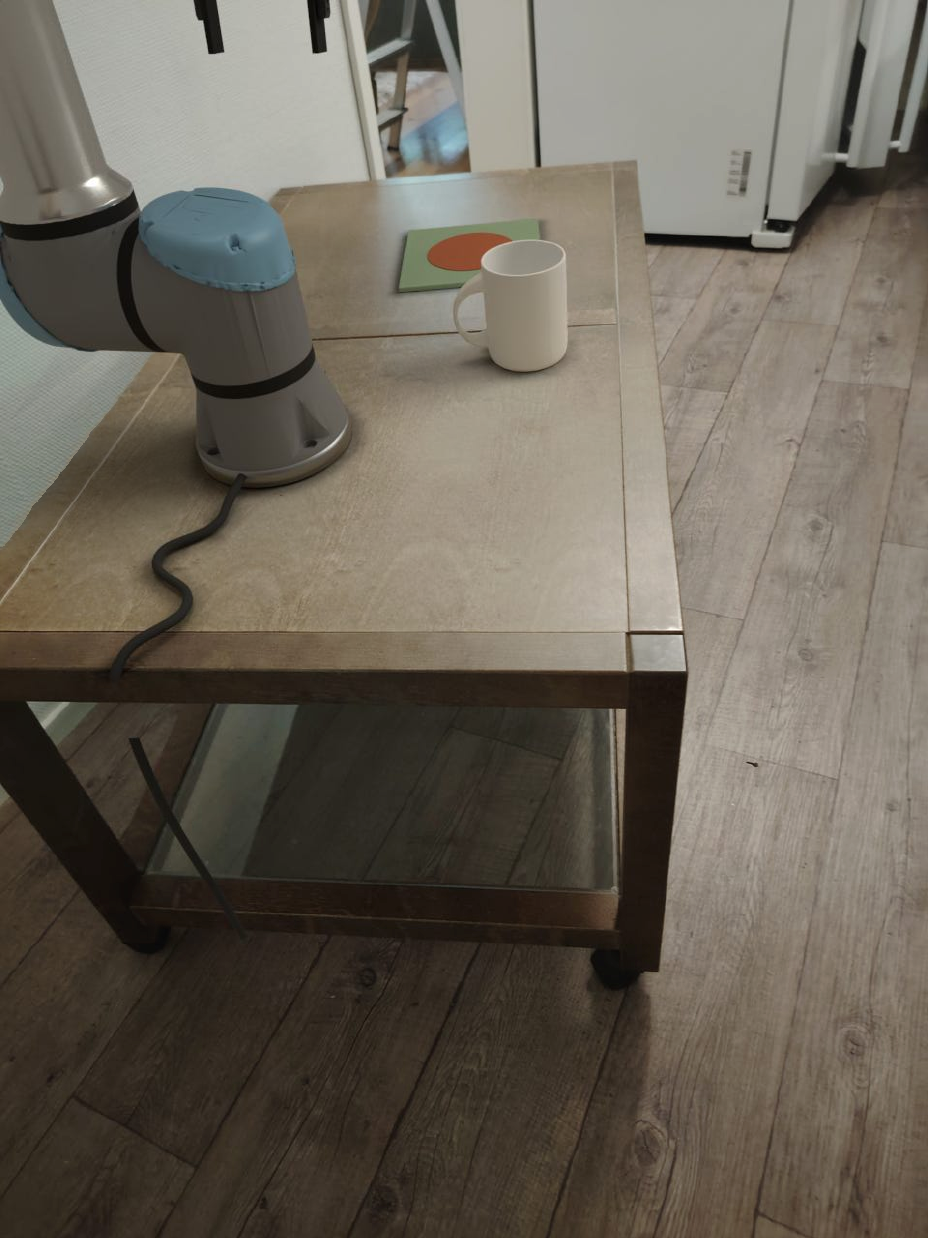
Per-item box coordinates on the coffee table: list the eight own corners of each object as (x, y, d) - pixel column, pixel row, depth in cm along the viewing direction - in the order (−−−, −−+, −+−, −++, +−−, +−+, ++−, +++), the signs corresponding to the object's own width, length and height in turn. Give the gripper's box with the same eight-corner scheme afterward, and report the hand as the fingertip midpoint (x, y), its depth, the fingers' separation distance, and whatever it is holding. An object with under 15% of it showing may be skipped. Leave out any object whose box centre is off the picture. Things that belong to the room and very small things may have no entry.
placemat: (543, 280, 110) (543, 274, 110) (399, 292, 112) (398, 287, 111) (538, 222, 123) (538, 217, 122) (408, 234, 124) (408, 229, 124)
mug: (456, 342, 101) (445, 248, 94) (562, 330, 101) (560, 234, 93) (460, 381, 95) (449, 284, 87) (573, 368, 95) (571, 269, 87)
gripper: (359, -187, 95) (375, 49, 108) (151, -172, 101) (190, 50, 113) (332, -196, 89) (353, 54, 102) (114, -180, 95) (159, 56, 107)
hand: (267, 53), depth 107 cm, fingers open, 13 cm apart
